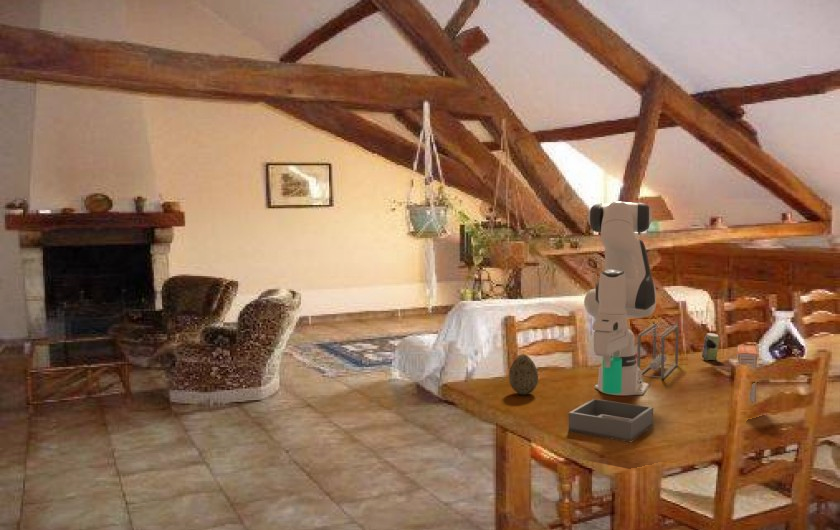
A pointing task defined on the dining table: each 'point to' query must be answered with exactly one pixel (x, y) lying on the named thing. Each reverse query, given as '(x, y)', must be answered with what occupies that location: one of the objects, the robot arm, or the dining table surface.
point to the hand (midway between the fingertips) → (612, 365)
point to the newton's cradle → (661, 357)
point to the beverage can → (710, 346)
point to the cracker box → (749, 357)
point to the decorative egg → (523, 375)
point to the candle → (613, 376)
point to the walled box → (611, 419)
